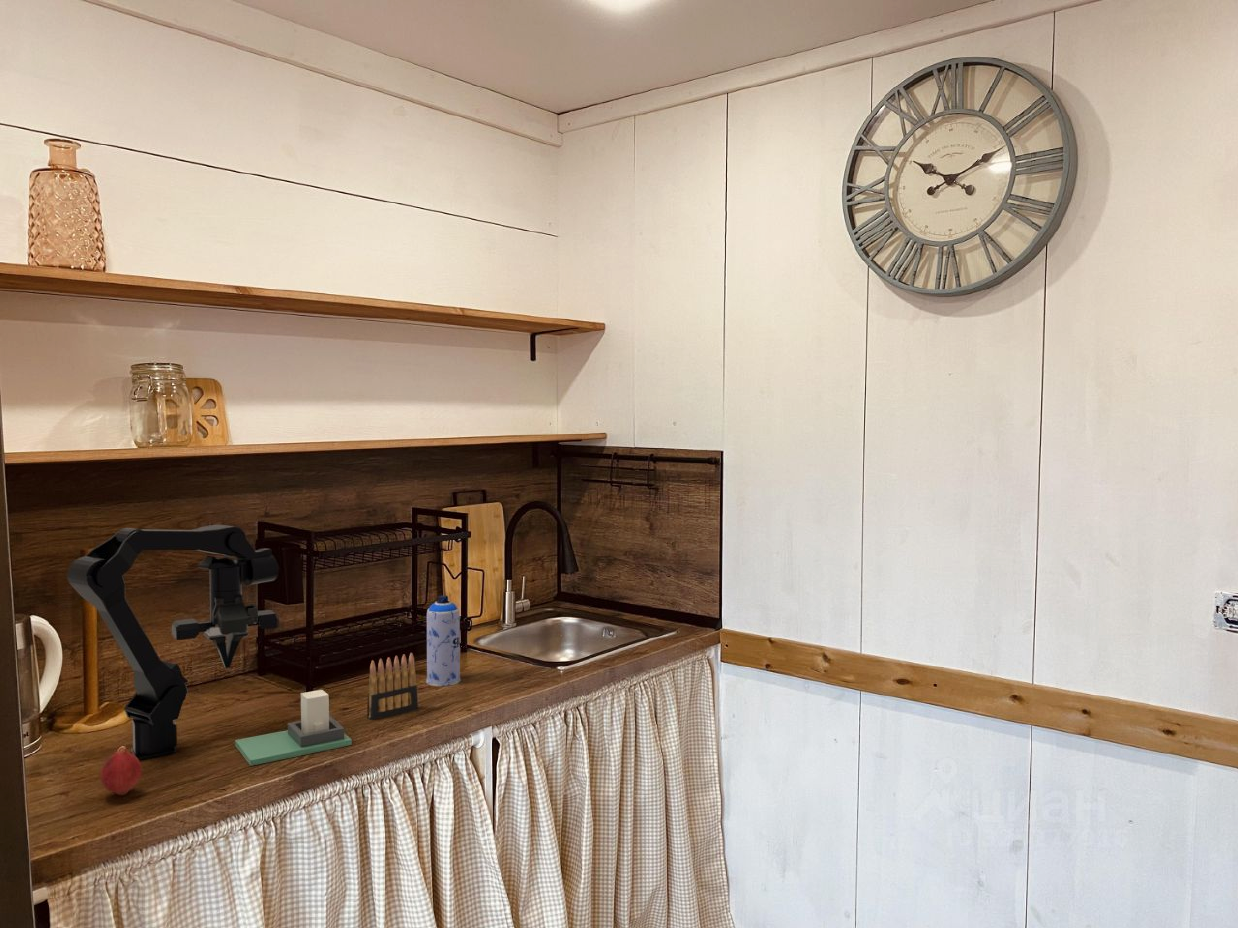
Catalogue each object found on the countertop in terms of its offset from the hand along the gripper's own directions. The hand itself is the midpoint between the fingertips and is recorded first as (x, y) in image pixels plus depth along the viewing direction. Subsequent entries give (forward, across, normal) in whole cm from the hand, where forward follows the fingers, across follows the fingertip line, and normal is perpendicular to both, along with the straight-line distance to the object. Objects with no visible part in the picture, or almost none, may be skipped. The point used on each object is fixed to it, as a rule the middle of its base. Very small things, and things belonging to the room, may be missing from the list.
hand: (227, 667), depth 176 cm
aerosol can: (+12, +48, +5) cm, 50 cm away
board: (+12, +8, -17) cm, 22 cm away
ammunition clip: (+12, +30, -10) cm, 34 cm away
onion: (+12, -21, -24) cm, 34 cm away
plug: (+11, +12, -17) cm, 24 cm away
